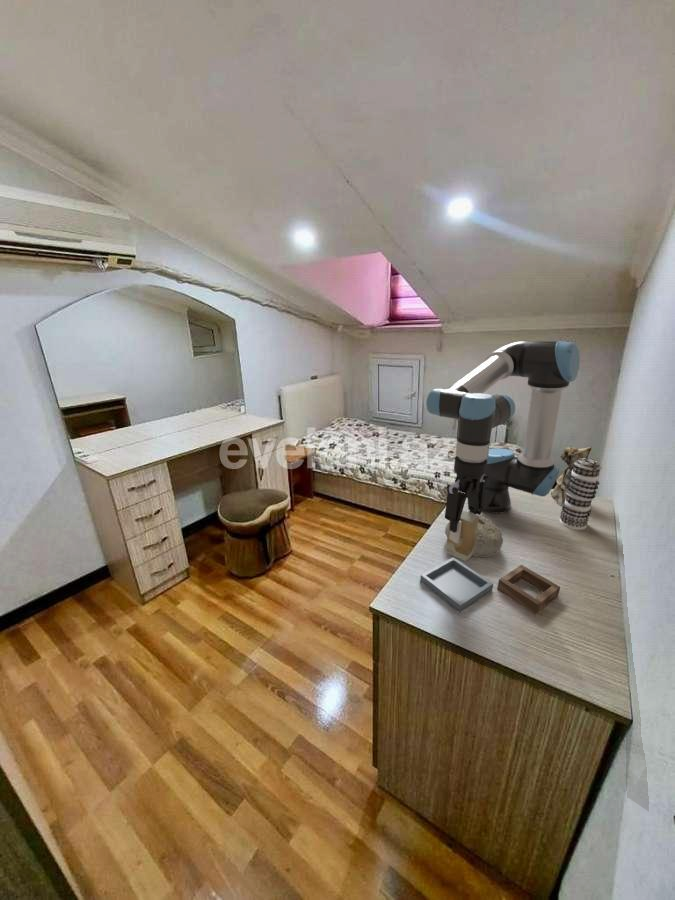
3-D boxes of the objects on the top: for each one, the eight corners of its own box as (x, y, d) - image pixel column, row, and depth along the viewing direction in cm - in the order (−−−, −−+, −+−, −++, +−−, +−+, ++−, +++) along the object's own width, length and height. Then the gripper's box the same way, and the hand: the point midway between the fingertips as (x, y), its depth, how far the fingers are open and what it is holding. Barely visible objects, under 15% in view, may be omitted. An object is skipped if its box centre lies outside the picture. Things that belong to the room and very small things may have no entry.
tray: (452, 563, 109) (453, 557, 108) (492, 590, 98) (493, 583, 97) (420, 581, 102) (420, 574, 101) (459, 612, 91) (460, 605, 90)
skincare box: (444, 551, 97) (448, 513, 92) (452, 544, 100) (456, 507, 95) (467, 562, 93) (472, 522, 88) (474, 554, 95) (479, 515, 91)
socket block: (519, 574, 104) (521, 564, 103) (557, 597, 96) (560, 586, 94) (497, 589, 99) (498, 579, 97) (535, 615, 90) (538, 604, 89)
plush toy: (583, 513, 133) (598, 449, 128) (543, 503, 142) (556, 442, 137) (588, 507, 143) (603, 447, 138) (550, 497, 152) (563, 441, 147)
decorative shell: (505, 542, 119) (509, 516, 115) (494, 572, 105) (498, 544, 102) (453, 526, 129) (455, 502, 125) (436, 552, 115) (438, 526, 111)
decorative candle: (552, 516, 133) (566, 455, 124) (577, 516, 133) (593, 455, 124) (566, 530, 124) (582, 466, 116) (593, 530, 124) (611, 465, 115)
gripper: (481, 445, 94) (471, 520, 102) (433, 460, 84) (427, 541, 93) (507, 453, 88) (494, 532, 96) (459, 471, 79) (449, 556, 87)
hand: (461, 536), depth 94 cm, fingers closed on skincare box, 5 cm apart
